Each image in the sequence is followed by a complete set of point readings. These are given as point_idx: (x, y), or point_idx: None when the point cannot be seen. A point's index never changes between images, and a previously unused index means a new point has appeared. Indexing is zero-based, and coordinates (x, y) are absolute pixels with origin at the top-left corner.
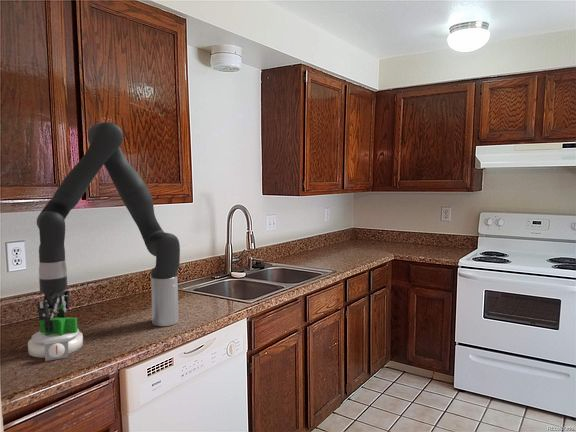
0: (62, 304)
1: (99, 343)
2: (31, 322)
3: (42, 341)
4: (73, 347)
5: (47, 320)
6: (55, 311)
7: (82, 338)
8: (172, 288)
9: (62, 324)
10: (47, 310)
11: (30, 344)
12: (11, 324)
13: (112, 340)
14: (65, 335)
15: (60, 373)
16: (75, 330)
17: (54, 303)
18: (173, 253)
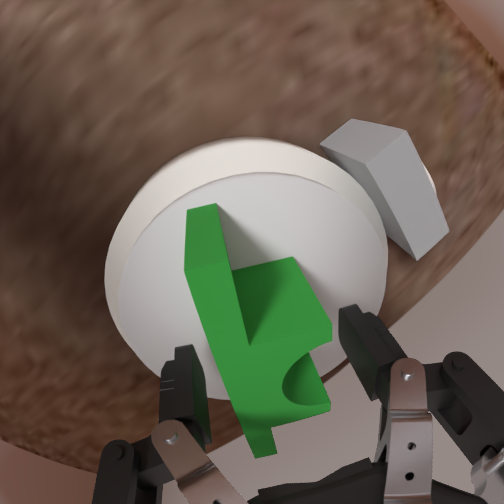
0: (245, 501)
1: (129, 75)
2: (91, 461)
3: (384, 288)
4: (286, 143)
5: (456, 352)
6: (402, 420)
7: (173, 164)
8: None
9: (300, 307)
10: (499, 413)
11: None
12: None
13: (72, 39)
14: (285, 234)
15: (472, 70)
16: (217, 209)
17: (428, 496)
18: None
